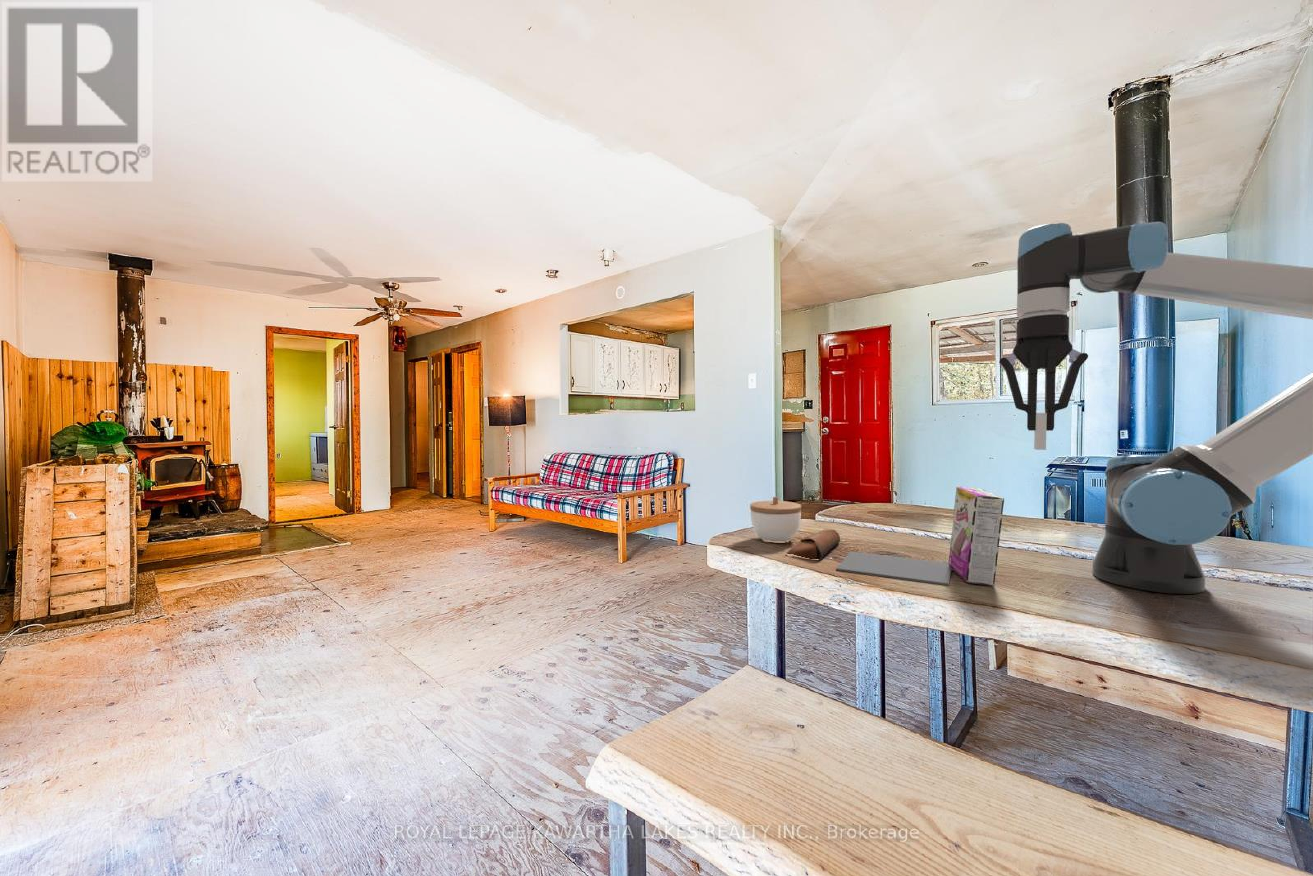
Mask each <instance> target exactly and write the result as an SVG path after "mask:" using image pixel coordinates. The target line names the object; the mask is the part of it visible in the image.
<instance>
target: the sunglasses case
mask: <svg viewBox="0 0 1313 876" xmlns="http://www.w3.org/2000/svg"><path fill="white" fill-rule="evenodd" d="M840 542H841V536H840V533H838V532H837V530H834V529H823V530H819V531H816V532H814V533H812V534H809V535H807V536H805V537H803V538H801V539H800V541H799V542H798V543H797V544H795V545H794V546H792V547H791V548H790V549H788V550H787V552H786V553H787V554H794V555H797V556H801V557H805V558H809V559H819V561H821V560H822V559H823V558H825V556H826V554H828V552H829V551H831V550H832V549H833V548H834V547H835V546H836V545H838V544H839V543H840ZM809 559H808V560H809Z"/></svg>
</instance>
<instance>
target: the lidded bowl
mask: <svg viewBox="0 0 1313 876" xmlns="http://www.w3.org/2000/svg"><path fill="white" fill-rule="evenodd" d="M749 506H750V507H749V508H750V521H751V525H752V529H753V531H754V533H755V534H756V535H757V536H758V537H759V538H760V540H761V539H763V540H770V541H787V540H790V539H791V540H792V539H793V538H794V537H795V536H796V535H797V533H798V532H799V529H800V526H801V518H802V515H801V514H802V505H801V504H800V503H797V502H792V501H785V500H779V497H778V496H773V497H772V500H762V501H753V502H752V503H750V504H749ZM791 540H790V541H791Z"/></svg>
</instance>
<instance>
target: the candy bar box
mask: <svg viewBox="0 0 1313 876" xmlns="http://www.w3.org/2000/svg"><path fill="white" fill-rule="evenodd" d="M955 489H956V490H955V498H954V507H953V516H952V517H953V518H952V530H951V537H950V538H951V539H950V547H949V555H948V556H949V557H948V562H947V563H948V565H949V566H950V567H951V570H952V571H954V572H955V573H957V575H959V576H960V577H961V578H962V579H963V580H964V581H965V582H967V583H970V584H974V585H983V586H990V587H991V586H995V583H996V574H997V566H998V556H999V547H1000V541H1001V540H1000V539H1001V533H1002V532H1001V531H1002V521H1003V511H1004V504H1005V498H1004V497H1002V496H999V495H997V494H995V493H992V492H990V491H987V490H985V489H982V488H976V487H974V488H973V487H966V486H965V487H964V486H957V487H956V488H955Z"/></svg>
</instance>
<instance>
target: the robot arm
mask: <svg viewBox="0 0 1313 876" xmlns="http://www.w3.org/2000/svg"><path fill="white" fill-rule="evenodd" d="M1168 247H1169V231H1168V226H1167V225H1166V224H1165V223H1164V222H1163V221H1162V222H1161V221H1154V222H1143V223H1139V222H1136V223H1133V224H1131V225H1129V224H1128V225H1125V226H1119V227H1112V228H1106V229H1102V230H1101V229H1100V230H1096V231H1089V232H1084V233H1083V232H1082V233H1073V231H1072V227H1071V225H1070V224H1068V223H1065V222H1057V223H1051V222H1050V223H1046V224H1041V225H1038V226H1034V227H1031V228H1029V229H1027V230H1026V231H1024V232H1023V233H1022V234H1021V236H1020V237H1019V239H1018V249H1017V272H1016V273H1017V274H1016V275H1017V276H1016V277H1017V280H1016V281H1017V294H1016V296H1017V297H1016V299H1017V300H1016V317H1018V318H1020V319H1018V320H1017V321H1016V335H1015V336H1016V338H1015V339H1016V340H1015V341H1016V343H1015V345H1014V347H1013V350H1012V352H1011V353H1010V354H1008V355H1006V356H1004V357H1001V358H1000V359H999V361H998V363H999V365H1000V366H1001V368H1002V369H1003V370H1004V371H1005V375H1006V379H1007V381H1008V385H1009V388H1010V393H1011V396H1012V399H1013V404H1014V406H1015V408H1016V409H1017V410H1019V411H1023V412H1025V413H1026V414H1027V416H1026V418H1027V419H1026V428H1027V430H1028V431H1034V436H1033V437H1034V438H1033V439H1034V442H1033V444H1034V445H1033V446H1034V447H1033V449H1034V450H1041V451H1043V450H1044V451H1045V450H1047V431H1048V432H1049V431H1054V429H1055V415H1056V414H1055V413H1056V412H1057V411H1060V410H1064V409H1066V408H1068V405H1069V403H1070V401H1071V397H1072V393H1073V391H1074V387H1075V385H1076V381H1077V379H1078V375H1079V372H1080V369H1081V367H1082V366H1083V365H1084V363H1085V362H1086V361H1087V360H1088V359H1089V354H1088V353H1086V352H1080V351H1078V350H1076V349H1074V348H1073V344H1072V343H1071V341H1070V316H1069V315H1067V314H1068V312H1069V311H1070V303H1071V302H1070V298H1071V297H1070V294H1071V292H1070V289H1071V287H1070V286H1071V285H1070V283H1071V280H1079V282H1080V284H1081V286H1082V287H1083V288H1084V289H1085V290H1087V291H1088V292H1091V293H1095V294H1105V293H1111V292H1117V293H1123V294H1133V295H1134V294H1135V295H1141V296H1149V297H1153V298H1156V297H1157V298H1161V299H1169V300H1174V301H1175V300H1176V301H1183V302H1189V303H1196V304H1202V305H1209V306H1215V307H1216V306H1217V307H1224V308H1230V309H1236V310H1245V311H1252V312H1258V313H1265V314H1272V315H1273V314H1274V315H1277V316H1278V315H1280V316H1287V317H1293V318H1301V319H1306V320H1307V319H1308V320H1313V267H1310V266H1300V265H1299V266H1298V265H1290V264H1289V265H1288V264H1280V263H1270V262H1261V261H1253V260H1245V259H1244V260H1242V259H1233V258H1232V259H1231V258H1223V257H1213V256H1205V255H1196V254H1195V255H1194V254H1188V253H1187V254H1186V253H1178V252H1177V253H1176V252H1168ZM1067 356H1069V359H1068V363H1070V366H1069V368H1068V370H1067V373H1066V377H1065V380H1064V383H1063V386H1062V389H1061V392H1060V396H1059V398H1058V402H1057V403H1056V374H1057V373H1056V372H1057V367H1059V366H1060V364H1061V363H1062V362H1063V361H1064V360H1065V358H1067ZM1016 359H1017V361H1019V363H1020V364H1022V366H1023V367H1024V368H1025V369H1027V395H1026V396H1027V397H1026V398H1027V402H1026V403H1024V399H1023V396H1022V391H1021V388H1020V385H1019V382H1018V379H1017V378H1018V377H1017V375H1016V370H1015V368H1014V366H1015V365H1016V361H1015V360H1016ZM1040 369H1042V370H1044V376H1045V378H1044V380H1045V381H1044V412H1037V410H1038V409H1037V406H1038V405H1037V403H1038V400H1037V399H1038V373H1039V371H1038V370H1040ZM1312 455H1313V371H1312V372H1311V373H1309V374H1308V375H1306V376H1305V377H1303V378H1301V379H1300V380H1298V381H1297V382H1295V383H1294V384H1292V385H1291V386H1289V387H1288V388H1286V389H1284V390H1283V391H1282V392H1279V393H1278V394H1276V395H1275V396H1274V397H1272V398H1270V399H1269V400H1268V401H1265V403H1263V404H1261V405H1259V407H1258V406H1257V408H1255V409H1253V410H1252V411H1250V412H1249V413H1247V414H1246V415H1245V416H1243V417H1241V418H1240V419H1238V420H1237V421H1235V422H1234V423H1232V424H1230V425H1229V426H1227V427H1226V428H1224V429H1223V430H1221V431H1220V432H1218V433H1217V434H1215V435H1214V436H1212V437H1210V438H1209V439H1207V440H1206V441H1204V442H1203V443H1201V444H1199V445H1178V446H1177V447H1175V448H1174V449H1172V450H1171V451H1169V452H1167V453H1166V454H1164V455H1118V456H1113V457H1110V458H1109V459H1108V460H1107V463H1106V469H1105V471H1104V475H1105V477H1106V481H1105V483H1106V484H1105V516H1104V517H1105V521H1104V522H1105V523H1104V524H1105V527H1104V528H1105V529H1104V530H1105V532H1104V533H1105V534H1104V536H1103V539H1102V541H1101V544H1100V545H1099V547H1098V549H1097V552H1096V554H1095V557H1094V559H1093V561H1092V571H1091V572H1092V575H1093V576H1095V577H1096V578H1098V579H1099V580H1102V581H1105V582H1108V583H1111V584H1114V585H1118V586H1122V587H1125V586H1126V588H1130V587H1131V589H1136V590H1142V591H1148V592H1154V593H1155V592H1156V593H1163V594H1175V595H1176V594H1177V595H1178V594H1179V595H1191V594H1192V595H1195V594H1200V593H1203V592H1205V591H1206V576H1205V574H1204V571H1203V569H1202V566H1201V564H1200V562H1199V559H1198V556H1197V554H1196V552H1195V550H1194V547H1193V545H1194V544H1200V543H1203V542H1206V541H1208V540H1211V539H1213V538H1214V537H1216V536H1218V535H1219V534H1220V533H1222V532H1223V530H1224V529H1226V527H1227V526H1228V524H1229V523H1230V520H1231V517H1232V516H1234V515H1235V514H1237V513H1239V512H1241V511H1242V510H1244V509H1246V508H1247V507H1249V506H1251V505H1253V504H1254V503H1256V498H1257V489H1258V487H1259V486H1261V485H1263V484H1264V483H1266V482H1268V481H1270V480H1271V479H1274V477H1277V476H1278V475H1280V474H1281V473H1283V472H1286V470H1288V469H1290V468H1292V467H1293V466H1295V465H1297V464H1299V463H1300V462H1302V461H1304V460H1306V459H1307V458H1309V457H1310V456H1312Z"/></svg>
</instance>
